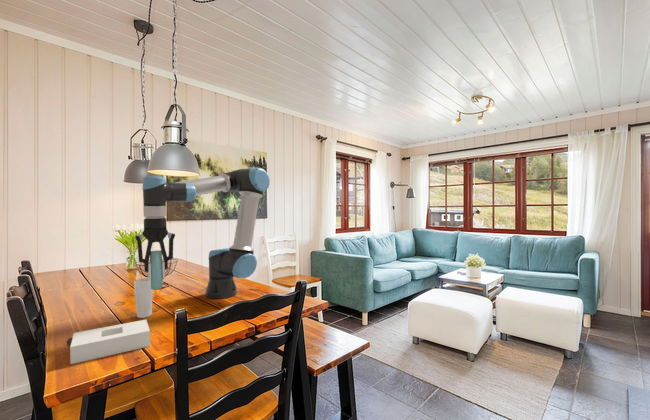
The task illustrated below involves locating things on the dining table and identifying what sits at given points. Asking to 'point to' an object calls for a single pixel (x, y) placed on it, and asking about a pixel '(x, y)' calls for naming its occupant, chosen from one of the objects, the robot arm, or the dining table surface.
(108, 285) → the dining table surface
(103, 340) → the socket block
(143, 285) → the drinking glass
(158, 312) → the dining table surface
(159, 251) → the teal peg
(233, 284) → the robot arm
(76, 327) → the dining table surface
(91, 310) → the dining table surface
